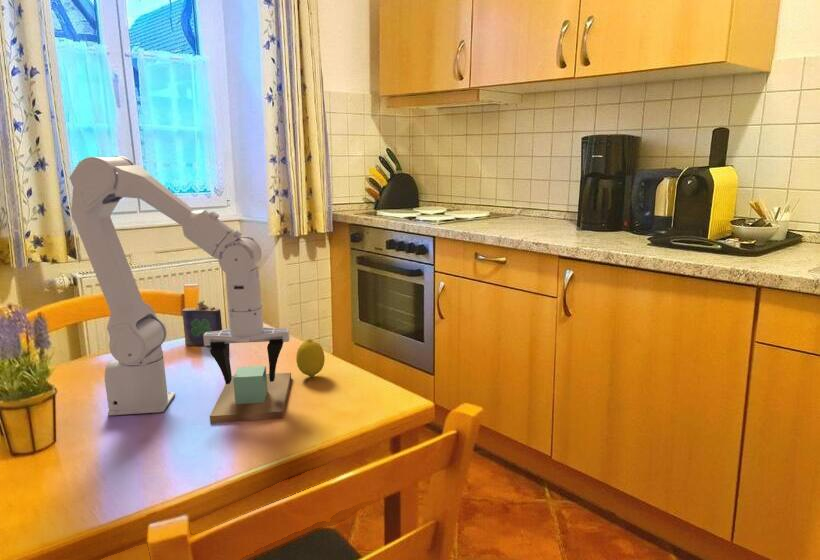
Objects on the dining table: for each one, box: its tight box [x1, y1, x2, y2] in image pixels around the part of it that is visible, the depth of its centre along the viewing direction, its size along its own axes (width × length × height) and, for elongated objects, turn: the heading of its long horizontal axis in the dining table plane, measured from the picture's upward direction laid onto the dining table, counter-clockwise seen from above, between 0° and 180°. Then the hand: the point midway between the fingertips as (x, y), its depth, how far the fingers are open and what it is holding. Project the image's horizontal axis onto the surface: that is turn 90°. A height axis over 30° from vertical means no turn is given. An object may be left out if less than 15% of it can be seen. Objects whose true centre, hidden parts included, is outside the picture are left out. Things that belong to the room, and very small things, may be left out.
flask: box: [181, 300, 223, 348], centre depth 138 cm, size 9×3×11 cm, turn 84°
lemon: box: [295, 338, 326, 378], centre depth 118 cm, size 6×6×8 cm
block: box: [233, 365, 268, 404], centre depth 106 cm, size 5×5×5 cm
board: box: [209, 372, 292, 424], centre depth 109 cm, size 12×18×1 cm, turn 6°
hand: (250, 380), depth 106 cm, fingers open, 7 cm apart
